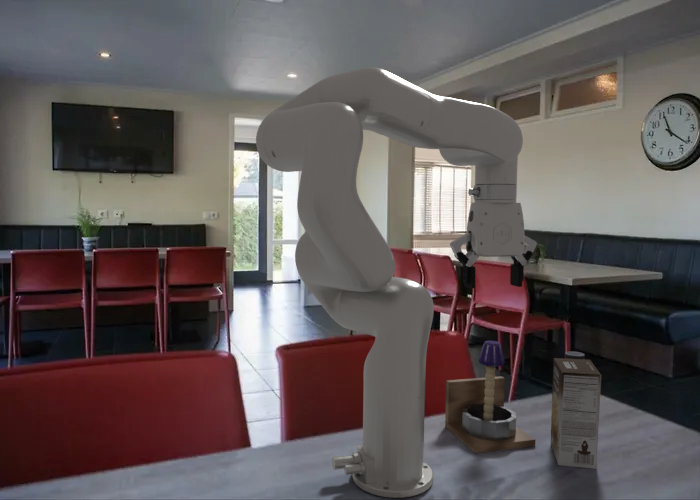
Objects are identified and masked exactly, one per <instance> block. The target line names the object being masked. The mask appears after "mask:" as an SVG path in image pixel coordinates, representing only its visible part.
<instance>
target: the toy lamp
mask: <svg viewBox="0 0 700 500" xmlns="http://www.w3.org/2000/svg"><path fill="white" fill-rule="evenodd" d="M478 363H479V364H480V365H483V366H485V370H486V372H485V375H484V378H486V381H485V387H486V388H485V390H484V393H485V397H484V403H485V405H484V414H483V418H484V419H482V420H489V421H493V420H492V419H493V414H492V412H493V403H494V398H493V396H494V386H495V382H494V379H495V377H496V372H495V371H496V370H497V368H496V367H502V366H504V365H505V358H504V353H503V348H502V344H501V342H499V341H497V340H496V341H495V340H486V341H484V343H483V345H482V347H481V352H480V353H479V356H478Z"/></svg>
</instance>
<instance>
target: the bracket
mask: <svg viewBox="0 0 700 500" xmlns="http://www.w3.org/2000/svg"><path fill="white" fill-rule="evenodd" d="M485 381H486V378H485V377H475V378H462V379H448V380H446V382H445V421H444V423H445V425H444V427H445V428H446V429H447V430H448V431H450V432H451V434H453V435H454V436H455V437H456V438H457V439H459V441H460V442H461V443H463V444H464V445H466V447H467V448H468V449H469V450H471V451H472V452H473V453H474V454H478V453H479V454H480V453H488V452H495V451H503V450H504V451H505V450H512V449H514V450H516V449H523V448H530V447H536V439H535V438H534V437H532V436H531V435H530V434H528V433H527V432H525V431H524V430H522V429H521V428H519V427H518V426H516V436H514V437H512V438H510V439H509V440H500V441H492V440H483V439H479V438H476V437H473V436H470V435H468V434H467V433H466V432H464V431H463V430H462V414H463V408H464V407H466V406H468V405H470V404H480V403H484V397H485V393H484V390H485V388H486V387H485ZM494 382H495V386H494V396H493V398H494V403H493V404H496V405H499V406H503V407H505V382H506V377H504V376H495V379H494Z"/></svg>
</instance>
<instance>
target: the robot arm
mask: <svg viewBox="0 0 700 500" xmlns="http://www.w3.org/2000/svg"><path fill="white" fill-rule="evenodd" d="M364 130H365V131H369V132H373V133H376V134H379V135H381V136H384V137H386V138H389V139H392V140H394V141H397V142H399V143H402V144H404V145H407V146H409V147H412V148H417V149H427V150H438V151H439V153H440V156H441V157H442V158H443V159H444V161H445V162H447V163H448V164H449V165H452V166H455V167H456V166H457V167H467V166H468V167H469V166H475V167H474V168H475V170H474V171H475V173H474V175H475V176H474V177H475V178H474V185H473V188H469V189H468V191H467V193H468V196H471V197H473V200H474V202H471V203H470V207H469V212H468V217H467V222H466V223H467V224H466V233H465V234H463V235H461V236H460V237H458V238H456V239H454V240H452V241H451V242H450V244H449V245H450V246H449V247H450V248H451V250H452V253H453V254H454V258H456V260H458V262H459V263H460V265H461V266H462V283H463V285H464V287H465V288H468V289H474V288H475V287H476V267H475V266H474V264H475V262H476V261H478V259H479V258H480V257H484V258H485V257H486V258H492V257H493V258H496V257H503V258H504V257H509V258H510V260H511V261H512V263H511V264H510V270H509V271H510V273H509V274H510V276H509V278H510V279H509V282H510V283H509V284H510V285H511V286H514V287H516V288H520V287H521V288H522V286H523V281H524V272H525V271H524V267H525V266H526V265H527V263H528V261H529V260H530V259H531V258H532V256H534V255H533V254H534V252H535V249H536V248H537V245H538V243H537V241H536V240H535V239H532V238H531V237H529V236H527V235H525V223H524V222H525V221H524V214H523V208H522V204H521V202H517V194H518V192H517V191H518V188H517V187H518V186H517V185H518V158H519V155H520V153H521V151H522V148H523V143H524V138H523V133H522V129H521V127H520V125H519V124H518V123H517V121H516V120H515V119H514V118H512V116H510V115H508V114H507V113H506V112H503V111H501V110H499V109H497V108H495V107H493V106H490V105H488V104H483V103H479V102H473V101H468V100H465V99H464V100H463V99H458V98H453V97H448V96H442V95H437V94H433V93H431V92H429V91H427V90H425V89H424V88H422V87H419V86H417V85H415V84H413V83H411V82H409V81H407V80H405V79H404V78H401V77H400V76H398V75H396V74H393V73H392V72H389V71H388V70H385V69H384V68H379V67H374V66H369V67H368V66H366V67H361V68H357V69H353V70H349V71H345V72H341V73H338V74H333V75H330V76H327V77H324V78H323V79H321V80H319V81H318V82H316V83H315V84H314V83H313V85H311V86H309V87H308V88H307V89H305V90H303V91H302V92H301V93H299V94H298V95H296V96H294V97H292V98H291V99H290V100H288V101H287V102H285V103H283V104H282V105H280V106H278V107H277V108H276V109H274V110H272V111H271V112H270V113H268V114H267V115H266V116H265V117H264V118H263V120H262V121H261V122H260V124H259V126H258V129H257V132H256V136H255V146H256V150H257V153H258V155H259V157H260V159H261V160H262V161H263V162H264V164H266V166H267V167H269V168H271V169H273V170H276V171H278V172H284V173H289V172H290V173H291V172H292V173H293V172H301V175H300V179H299V185H298V193H297V200H296V201H297V207H296V208H297V214H298V218H299V222H300V223H301V225H302V227H303V229H304V230H305V232H304V233H303V234H302V235H301V236H300V238H299V239H298V241H297V244H296V247H295V251H294V261H295V267H296V271H297V272H298V274H299V277H300V278H301V279H300V280H301V281H302V282H303V283H304V285H305V286H306V288H307V289H308V290H309V291H310V293H311V294H312V295H313V296H314V298H315V299H316V301H317V302H318V303H319V304H320V305H321V306H322V308H323V309H324V310H325V311H326V313H327V314H328V315H329V317H330V318H331V319H332V320H333V321H334V322H335V323H337V324H338V325H339V326H341V327H342V328H344V329H347V330H350V331H353V332H356V333H359V334H364V335H369V336H372V337H375V339H374V343H373V345H372V346H371V349H370V350H369V352H368V353H367V356H366V359H365V361H364V365H363V398H362V399H363V403H362V405H363V408H362V416H363V417H362V445H357V446H356V448H357V449H356V450H357V451H356V452H351V455H337V456H332V459H331V460H332V461H331V464H332V469H333V470H334V471H338V470H343V472H344V475H345V476H347V475H351V476H352V479H353V482H354V484H355V485H356V486H357V487H359V488H360V489H361V490H363V491H364V492H367V493H369V494H371V495H374V496H378V497H384V498H390V499H392V498H393V499H398V498H399V499H401V498H403V499H404V498H410V497H414V496H418V495H420V494H423V493H425V492H427V491H428V490H429V489H430V488H431V486H432V485H433V483H434V472H433V470H432V468H431V467H430V466H429V465H428V464H427V463H426V462H424V457H425V456H424V453H425V447H424V446H425V411H426V410H425V404H426V401H425V400H426V366H427V364H426V363H427V350H428V342H429V338H430V334H431V333H430V332H431V328H432V323H433V320H434V312H435V311H434V310H435V308H434V305H435V304H434V300H433V298H432V297H433V296H432V295H431V293H430V292H429V290H428V289H427V288H426V287H425V286H423V285H422V284H421V283H419V282H417V281H414V280H412V279H408V278H403V277H397V276H395V275H394V274H395V272H396V262H395V258H394V255H393V251H392V249H391V248H390V246H389V244H388V243H387V241H386V239H385V238H384V237H383V235H382V233H381V231H380V230H379V228H378V227H377V225H376V223H375V222H374V220H373V219H372V217H371V215H370V214H369V213H368V211H367V210H366V208H365V206H364V204H363V202H362V200H361V198H360V196H359V193H358V187H357V177H358V176H357V175H358V174H357V173H358V168H359V162H360V158H361V154H362V150H363V144H364ZM463 245H465V250H466V253H464V252H463V250H462V246H463Z"/></svg>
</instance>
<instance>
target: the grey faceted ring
mask: <svg viewBox="0 0 700 500" xmlns="http://www.w3.org/2000/svg"><path fill="white" fill-rule="evenodd" d="M484 405H485V403H480V404H470V405H468V406H466V407H464V408H463V414H462V430H463V431H464V432H466V433H467V434H468V435H470V436H473V437H476V438H479V439H483V440H492V441H500V440H509V439H510V438H512V437H514V436H516V427H517V413H516V412H515V411H514V410H513V409H510V408H509V407H506V406H504V407H503V406H499V405H496V404H493V412H492V414H493V419H492V420H493V421H489V420H482V419H484V418H483V414H484Z"/></svg>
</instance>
